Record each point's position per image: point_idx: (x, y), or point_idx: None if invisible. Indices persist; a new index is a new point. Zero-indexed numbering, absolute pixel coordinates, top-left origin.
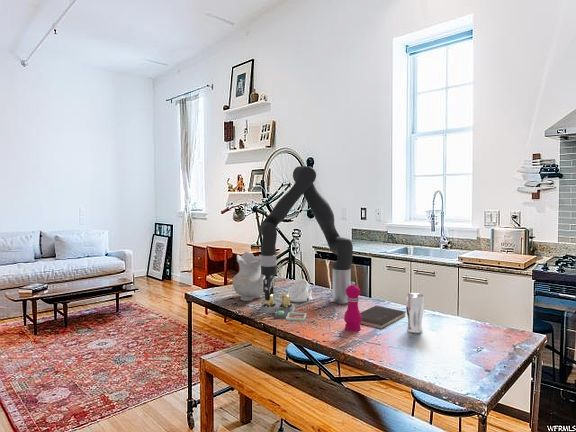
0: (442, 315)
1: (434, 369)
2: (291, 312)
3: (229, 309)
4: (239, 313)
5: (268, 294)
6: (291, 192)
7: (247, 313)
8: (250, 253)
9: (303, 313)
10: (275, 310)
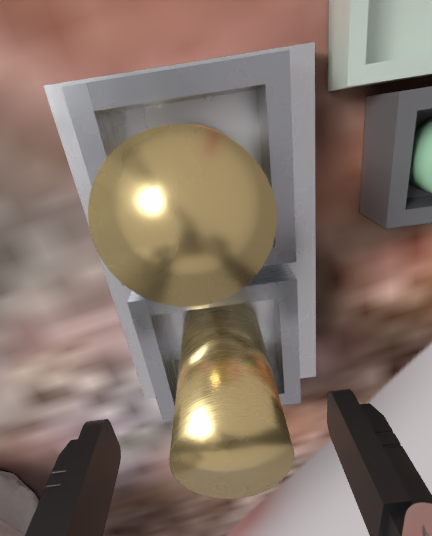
0: None
1: None
2: (349, 43)
3: (239, 518)
4: (302, 460)
5: (410, 479)
6: None
7: (294, 426)
8: None
9: None
10: (271, 266)
